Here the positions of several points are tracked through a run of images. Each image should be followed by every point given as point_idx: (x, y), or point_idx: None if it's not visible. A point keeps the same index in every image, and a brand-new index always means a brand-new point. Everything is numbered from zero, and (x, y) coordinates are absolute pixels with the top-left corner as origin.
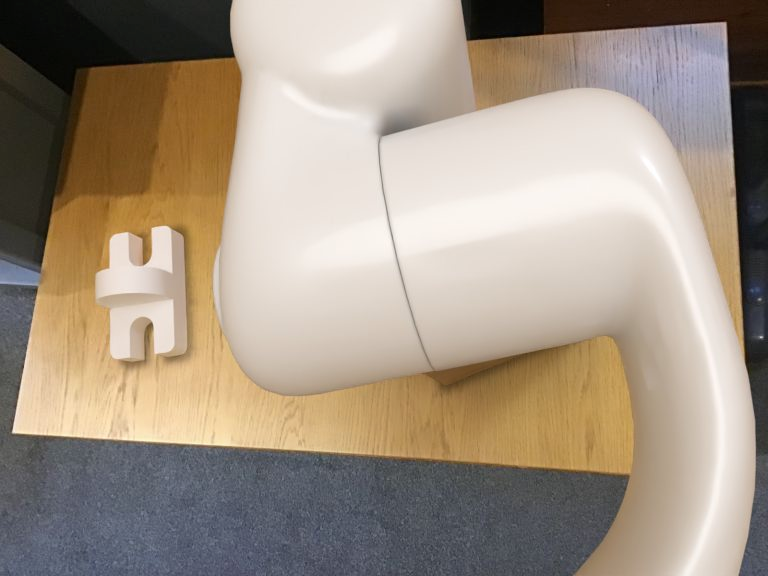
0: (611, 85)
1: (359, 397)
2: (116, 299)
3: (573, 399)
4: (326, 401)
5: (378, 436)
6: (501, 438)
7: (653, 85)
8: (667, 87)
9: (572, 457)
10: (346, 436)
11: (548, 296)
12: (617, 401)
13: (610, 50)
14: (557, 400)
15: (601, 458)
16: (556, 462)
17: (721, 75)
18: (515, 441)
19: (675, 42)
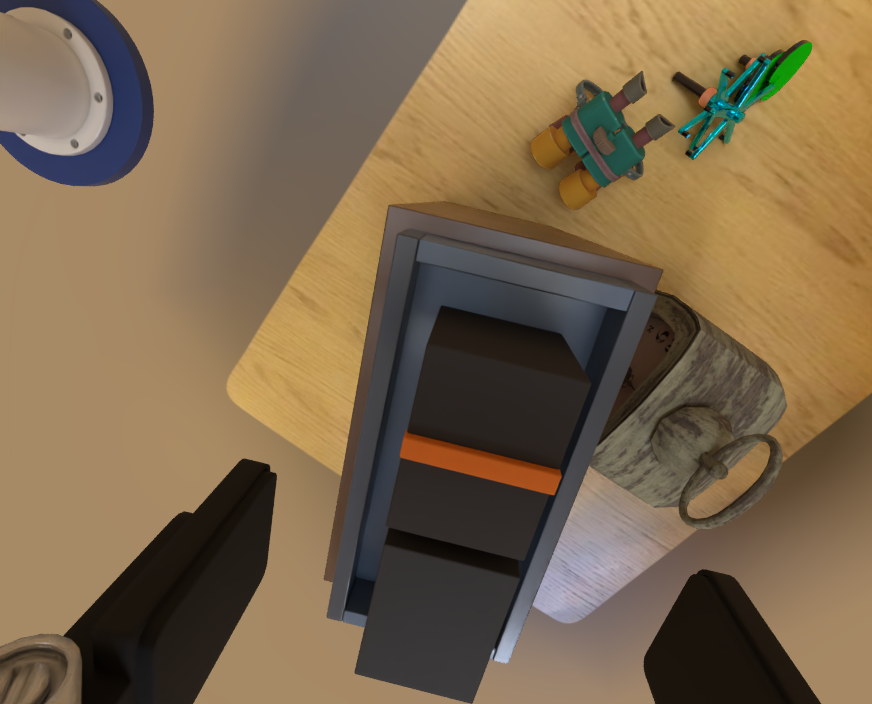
0: (600, 543)
1: (502, 83)
2: None
3: (352, 315)
4: (528, 30)
5: (441, 76)
6: (355, 221)
7: (569, 566)
8: (558, 572)
9: (300, 275)
10: (468, 29)
11: None
12: (328, 349)
13: (630, 564)
14: (359, 300)
15: (286, 300)
16: (304, 258)
17: (532, 604)
18: (345, 233)
19: (588, 602)
